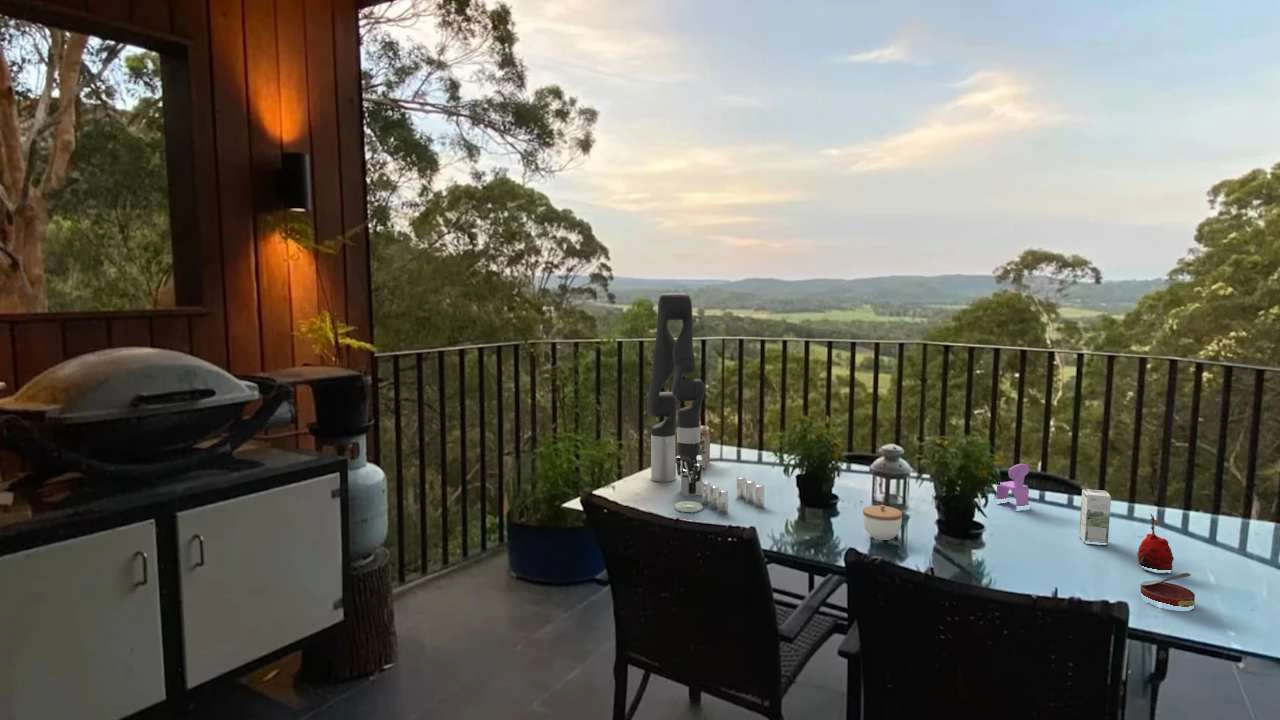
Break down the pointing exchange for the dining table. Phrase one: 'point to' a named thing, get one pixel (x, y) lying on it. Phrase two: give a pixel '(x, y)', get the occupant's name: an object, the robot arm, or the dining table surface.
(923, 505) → the dining table surface
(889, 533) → the lidded jar
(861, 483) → the dining table surface
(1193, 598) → the canned food
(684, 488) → the grey upright block
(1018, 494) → the toy chair
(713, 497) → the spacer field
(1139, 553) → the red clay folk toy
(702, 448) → the decorative jar
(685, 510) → the saucer
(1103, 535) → the syrup box
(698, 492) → the supplement box
